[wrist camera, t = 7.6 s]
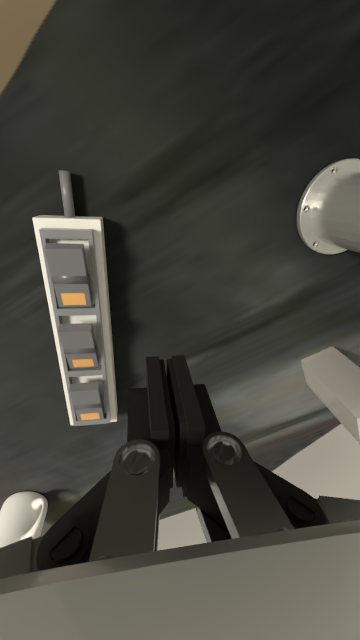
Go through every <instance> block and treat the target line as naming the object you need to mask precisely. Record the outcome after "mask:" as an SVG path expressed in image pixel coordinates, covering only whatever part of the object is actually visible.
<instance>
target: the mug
mask: <svg viewBox="0 0 360 640" xmlns="http://www.w3.org/2000/svg"><path fill="white" fill-rule="evenodd" d="M47 508H48V502H47V500H46V498H45V497H44V496H43V495H41V494H39V493H36V492H31V491H23V492H18V493H15V494H13V495H11V496H10V497H8V498H7V499H6V501H5V502H4V504H3V506H2V508H1V511H0V548H2V547H4V546H7V545H9V544H12V543H15V542H17V541H20V540H23V539H25V538H28V537H31V536H32V539H36V538H38V537H40V535H41V531H42V527H43V524H44V520H45V516H46V512H47Z"/></svg>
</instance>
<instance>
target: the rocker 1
mask: <svg viewBox="0 0 360 640" xmlns="http://www.w3.org/2000/svg"><path fill="white" fill-rule="evenodd" d="M44 251H45V255H46V259H47V263H48V266H49V270H50V274H51V280H52V283H53V285H54V289H55V293H56V297H57V301H58V305H59V307H83V306H92V301H93V299H92V293H91V286H90V280H89V272H88V268H87V261H86V255H85V249H84V244H69V243H47V244H46V246H45V248H44Z"/></svg>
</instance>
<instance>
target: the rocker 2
mask: <svg viewBox="0 0 360 640" xmlns="http://www.w3.org/2000/svg"><path fill="white" fill-rule="evenodd" d="M58 335H59V338H60V341H61V344H62V346H63V349H64V354H65V355H66V358H67V361H68V363H69V366H70V369H72V368H91V367H99V355H98V350H97V345H96V340H95V336H94V331H93V326H92V323H81V324H59V328H58Z"/></svg>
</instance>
